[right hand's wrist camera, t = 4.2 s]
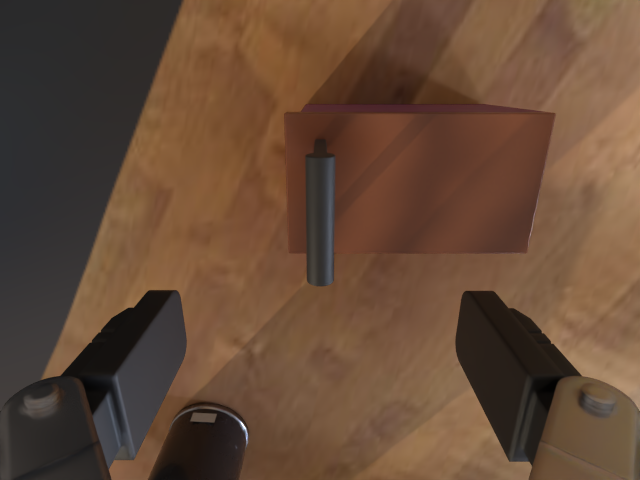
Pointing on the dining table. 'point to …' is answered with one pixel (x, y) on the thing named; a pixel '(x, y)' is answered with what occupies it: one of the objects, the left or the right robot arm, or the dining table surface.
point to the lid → (411, 183)
